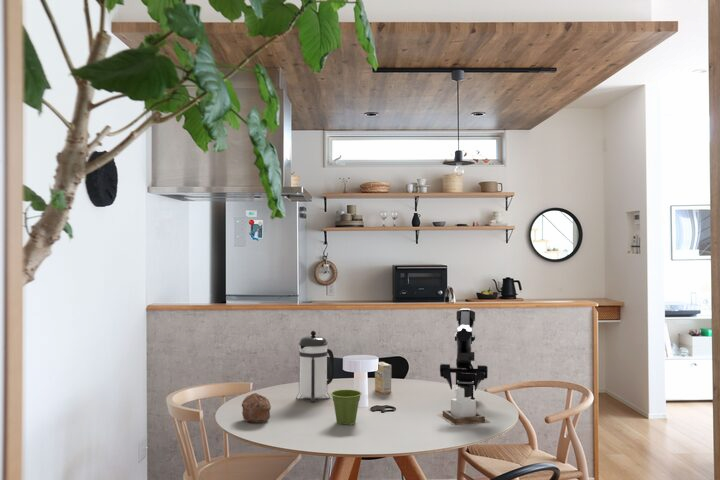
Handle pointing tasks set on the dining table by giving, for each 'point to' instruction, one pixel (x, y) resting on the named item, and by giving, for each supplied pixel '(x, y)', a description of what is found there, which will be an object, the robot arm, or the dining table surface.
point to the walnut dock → (462, 418)
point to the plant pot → (346, 405)
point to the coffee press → (314, 367)
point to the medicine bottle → (463, 403)
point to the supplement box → (383, 378)
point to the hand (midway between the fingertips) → (463, 389)
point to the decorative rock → (256, 408)
